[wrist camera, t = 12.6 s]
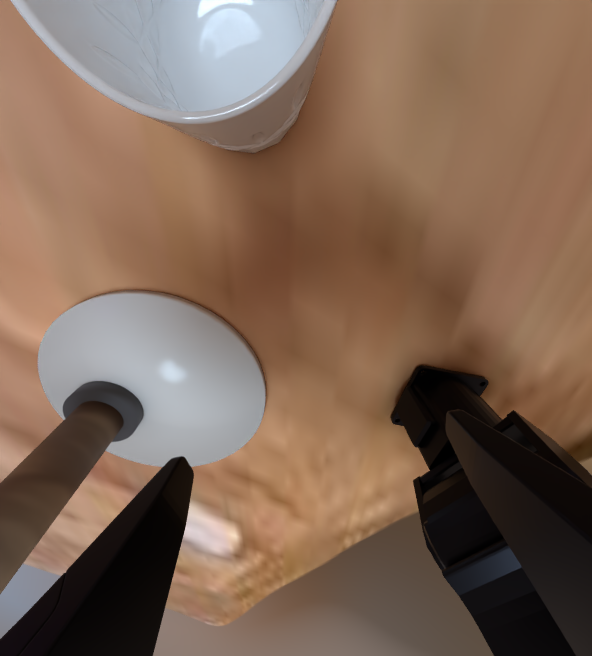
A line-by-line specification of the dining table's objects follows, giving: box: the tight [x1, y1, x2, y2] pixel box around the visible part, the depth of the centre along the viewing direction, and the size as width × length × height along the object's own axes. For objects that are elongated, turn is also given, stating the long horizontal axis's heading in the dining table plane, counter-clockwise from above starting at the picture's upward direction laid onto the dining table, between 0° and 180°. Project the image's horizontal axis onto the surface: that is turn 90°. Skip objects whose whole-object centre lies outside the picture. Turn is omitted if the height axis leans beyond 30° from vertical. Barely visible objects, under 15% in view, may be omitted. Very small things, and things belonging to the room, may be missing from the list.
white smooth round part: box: [38, 290, 266, 467], centre depth 22 cm, size 18×18×1 cm
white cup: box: [11, 0, 338, 153], centre depth 9 cm, size 8×8×10 cm
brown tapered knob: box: [0, 381, 144, 594], centre depth 16 cm, size 6×6×13 cm
